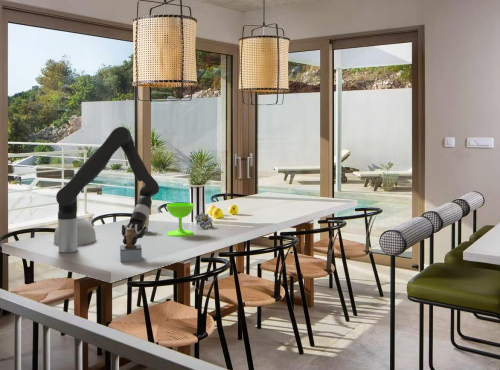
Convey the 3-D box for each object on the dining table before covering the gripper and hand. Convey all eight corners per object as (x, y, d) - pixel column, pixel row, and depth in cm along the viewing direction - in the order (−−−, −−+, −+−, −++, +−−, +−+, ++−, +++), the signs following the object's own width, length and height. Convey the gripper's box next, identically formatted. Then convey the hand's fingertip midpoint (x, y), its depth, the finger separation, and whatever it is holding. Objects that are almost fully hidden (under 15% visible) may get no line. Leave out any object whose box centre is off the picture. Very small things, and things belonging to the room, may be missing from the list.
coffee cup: (148, 233, 343) (148, 208, 342) (133, 233, 343) (133, 208, 341) (150, 230, 352) (149, 206, 351) (135, 230, 352) (135, 206, 350)
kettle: (57, 237, 331) (55, 199, 328) (97, 235, 335) (96, 198, 333) (51, 246, 306) (49, 205, 304) (94, 244, 311) (93, 203, 309)
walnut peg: (126, 258, 274) (126, 229, 273) (126, 256, 278) (125, 228, 277) (135, 258, 275) (134, 229, 274) (134, 256, 279) (134, 228, 278)
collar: (120, 262, 271) (120, 249, 270) (120, 257, 280) (120, 245, 280) (141, 260, 273) (141, 248, 272) (140, 256, 283) (140, 244, 282)
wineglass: (161, 234, 339) (160, 204, 337) (180, 230, 351) (179, 201, 349) (180, 237, 329) (180, 207, 327) (199, 233, 342) (199, 204, 340)
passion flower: (205, 236, 359) (197, 223, 353) (196, 231, 368) (188, 217, 361) (218, 225, 363) (211, 212, 357) (209, 220, 372) (201, 207, 365)
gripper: (124, 210, 283) (112, 238, 273) (150, 211, 279) (139, 240, 269) (129, 219, 289) (118, 247, 279) (155, 220, 285) (144, 249, 275)
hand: (128, 243), depth 274 cm, fingers closed on walnut peg, 4 cm apart
